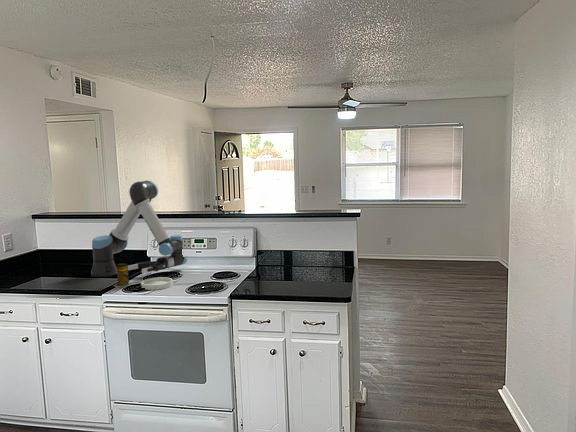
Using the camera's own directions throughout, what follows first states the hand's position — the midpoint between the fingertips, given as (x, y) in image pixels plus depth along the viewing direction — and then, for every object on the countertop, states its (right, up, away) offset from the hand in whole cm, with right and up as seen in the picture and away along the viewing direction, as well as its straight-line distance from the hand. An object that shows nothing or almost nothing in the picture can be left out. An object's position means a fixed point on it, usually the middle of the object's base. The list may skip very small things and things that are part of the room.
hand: (135, 269), depth 266 cm
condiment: (-6, -8, -6) cm, 11 cm away
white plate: (+15, -8, -9) cm, 19 cm away
